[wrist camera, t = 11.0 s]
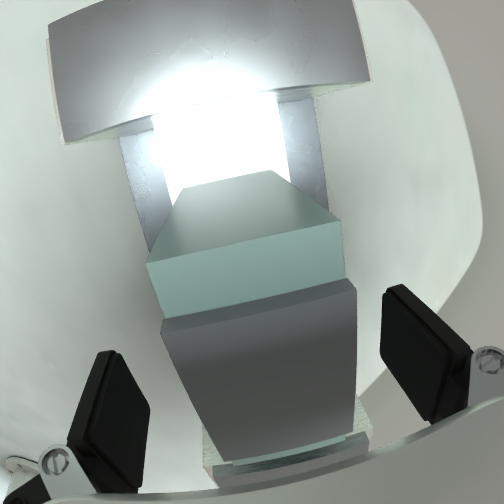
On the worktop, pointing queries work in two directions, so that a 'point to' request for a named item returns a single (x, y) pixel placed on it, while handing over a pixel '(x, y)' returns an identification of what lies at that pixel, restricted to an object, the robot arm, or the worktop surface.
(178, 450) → the worktop surface
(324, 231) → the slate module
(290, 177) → the grey blocky piece
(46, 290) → the worktop surface
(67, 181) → the worktop surface
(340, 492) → the robot arm
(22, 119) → the worktop surface
